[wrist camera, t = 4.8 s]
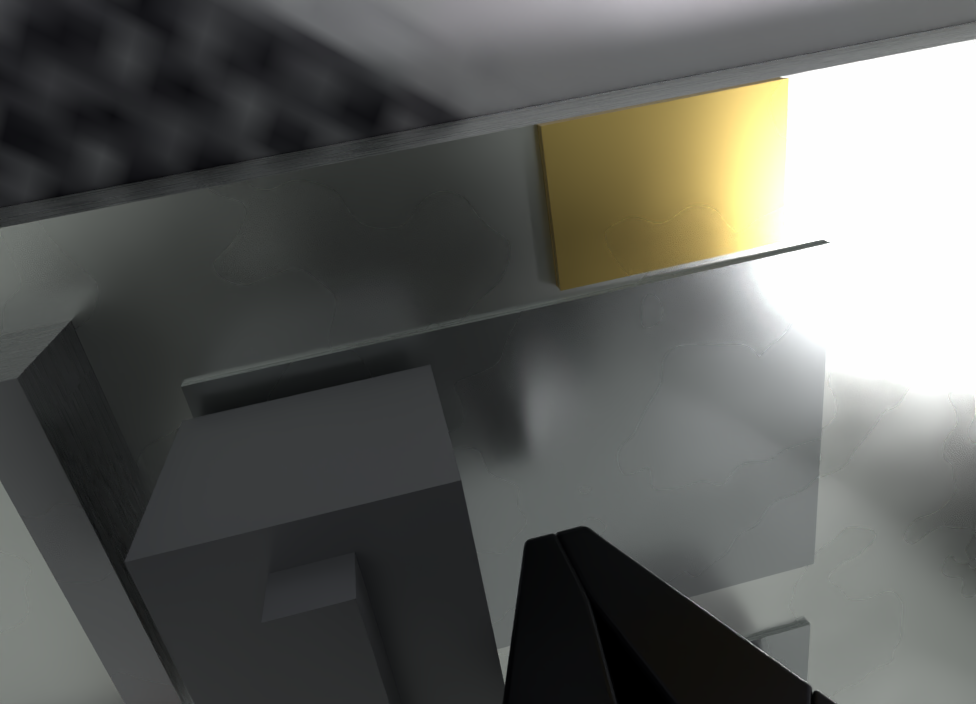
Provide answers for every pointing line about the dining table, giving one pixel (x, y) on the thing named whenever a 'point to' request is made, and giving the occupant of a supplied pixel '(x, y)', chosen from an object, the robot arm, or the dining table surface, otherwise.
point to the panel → (548, 356)
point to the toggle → (319, 553)
